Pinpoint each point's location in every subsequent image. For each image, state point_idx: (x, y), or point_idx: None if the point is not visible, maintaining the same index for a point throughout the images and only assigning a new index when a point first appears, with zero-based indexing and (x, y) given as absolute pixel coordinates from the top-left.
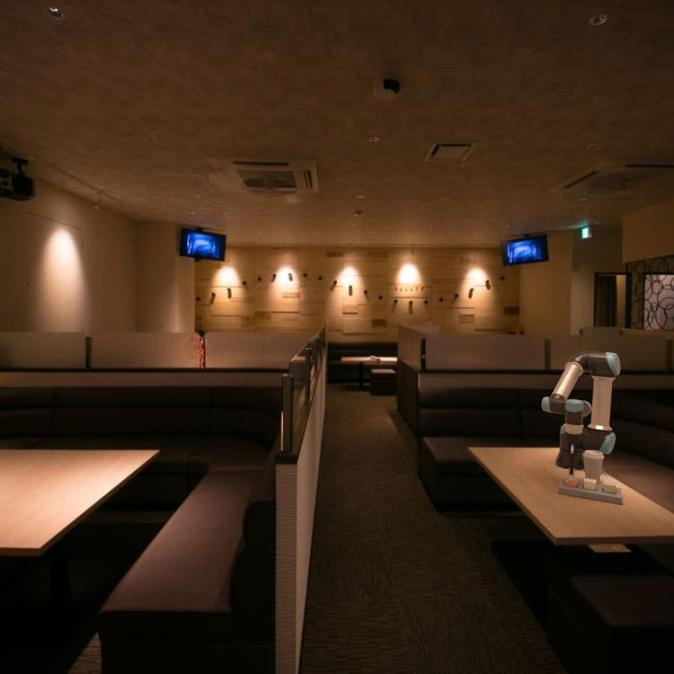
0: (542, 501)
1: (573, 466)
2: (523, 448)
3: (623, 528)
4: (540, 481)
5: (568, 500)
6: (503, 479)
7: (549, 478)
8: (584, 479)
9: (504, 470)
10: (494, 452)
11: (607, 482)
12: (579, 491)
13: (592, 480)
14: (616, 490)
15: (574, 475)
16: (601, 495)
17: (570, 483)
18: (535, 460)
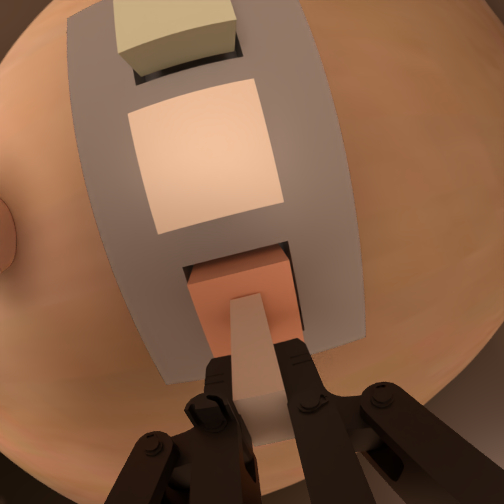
0: (464, 317)
1: (411, 404)
2: (2, 452)
3: (492, 32)
4: None
5: (416, 238)
6: (301, 477)
7: (133, 409)
8: (217, 215)
9: None
10: (89, 501)
11: (145, 14)
12: (352, 206)
13: (184, 132)
14: None
15: (268, 326)
16: (317, 54)
17: (297, 305)
18: (27, 441)
